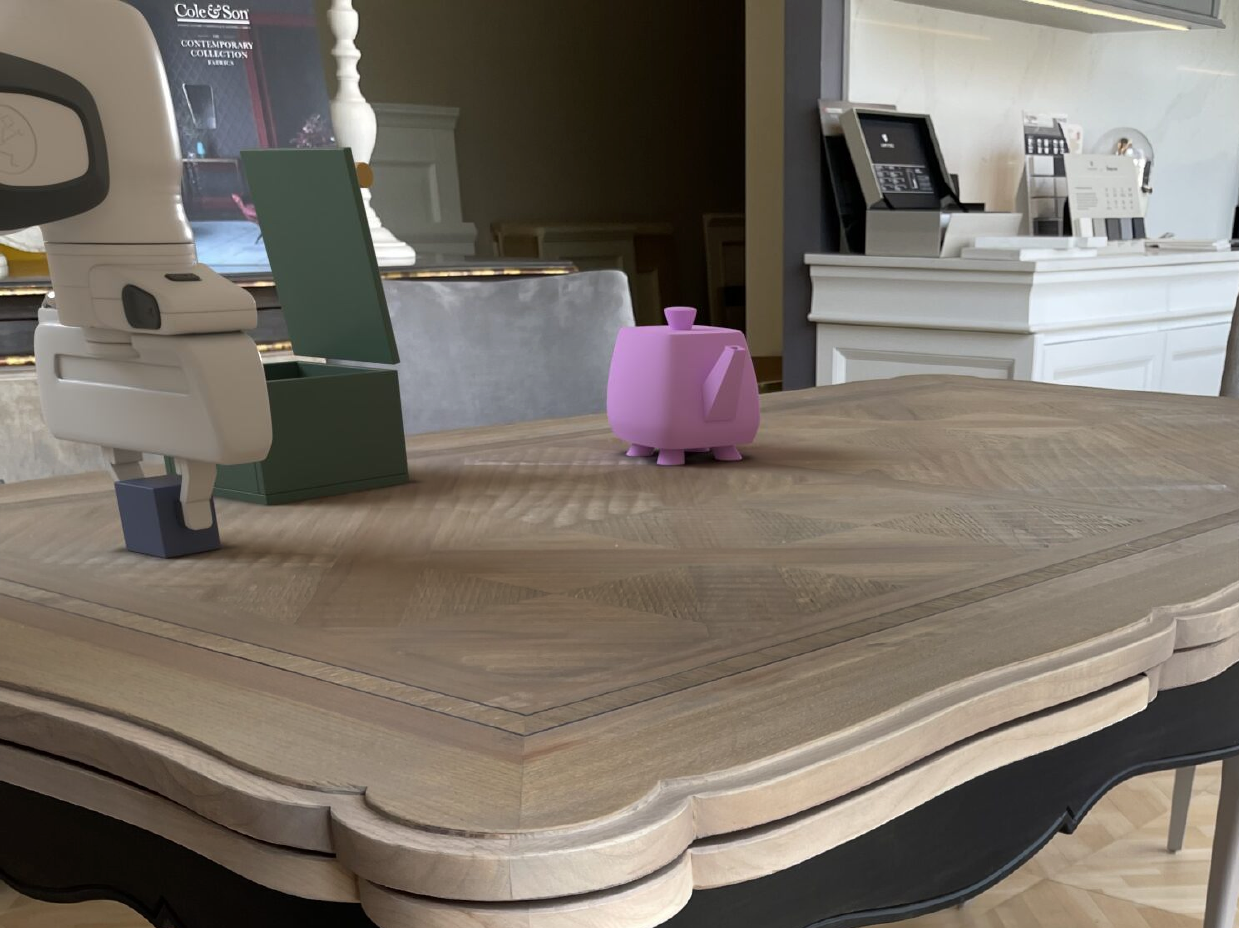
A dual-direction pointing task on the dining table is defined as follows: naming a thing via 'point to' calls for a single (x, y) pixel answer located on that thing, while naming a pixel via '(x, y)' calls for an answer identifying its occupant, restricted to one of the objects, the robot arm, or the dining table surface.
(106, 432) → the robot arm
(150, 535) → the block
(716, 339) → the teapot
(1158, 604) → the dining table surface
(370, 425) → the chest
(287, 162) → the lid
